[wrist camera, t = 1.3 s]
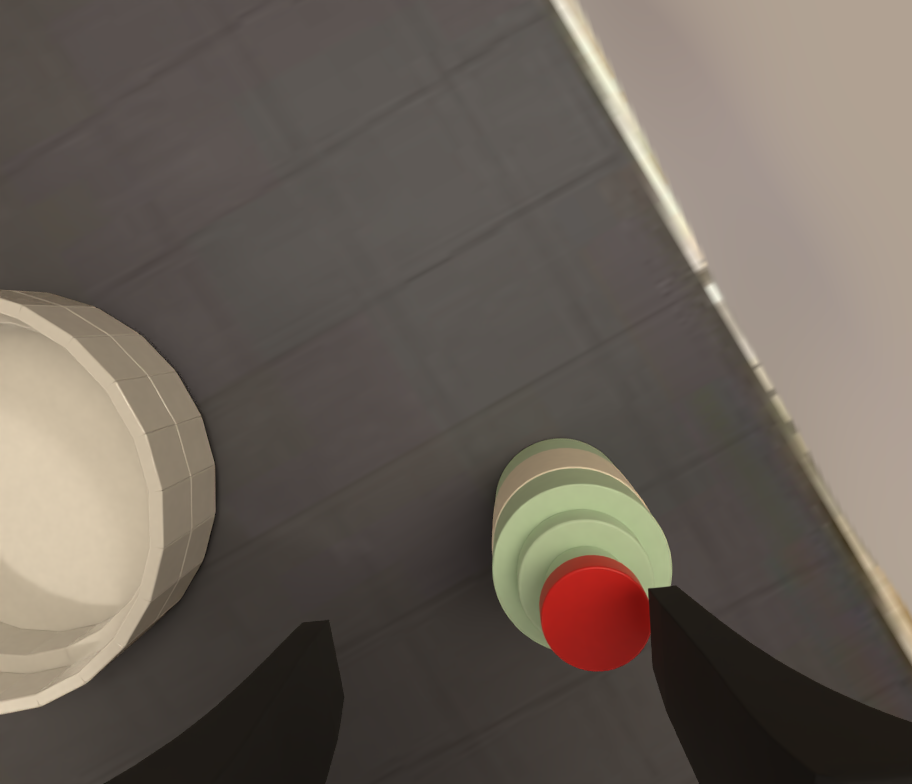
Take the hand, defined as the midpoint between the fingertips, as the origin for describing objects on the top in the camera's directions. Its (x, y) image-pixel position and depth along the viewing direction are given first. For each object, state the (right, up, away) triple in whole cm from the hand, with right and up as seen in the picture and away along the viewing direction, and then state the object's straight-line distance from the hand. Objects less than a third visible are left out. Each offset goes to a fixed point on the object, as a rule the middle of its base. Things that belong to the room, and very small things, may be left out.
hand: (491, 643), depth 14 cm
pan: (-18, +2, +12) cm, 22 cm away
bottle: (+3, +1, +11) cm, 11 cm away
